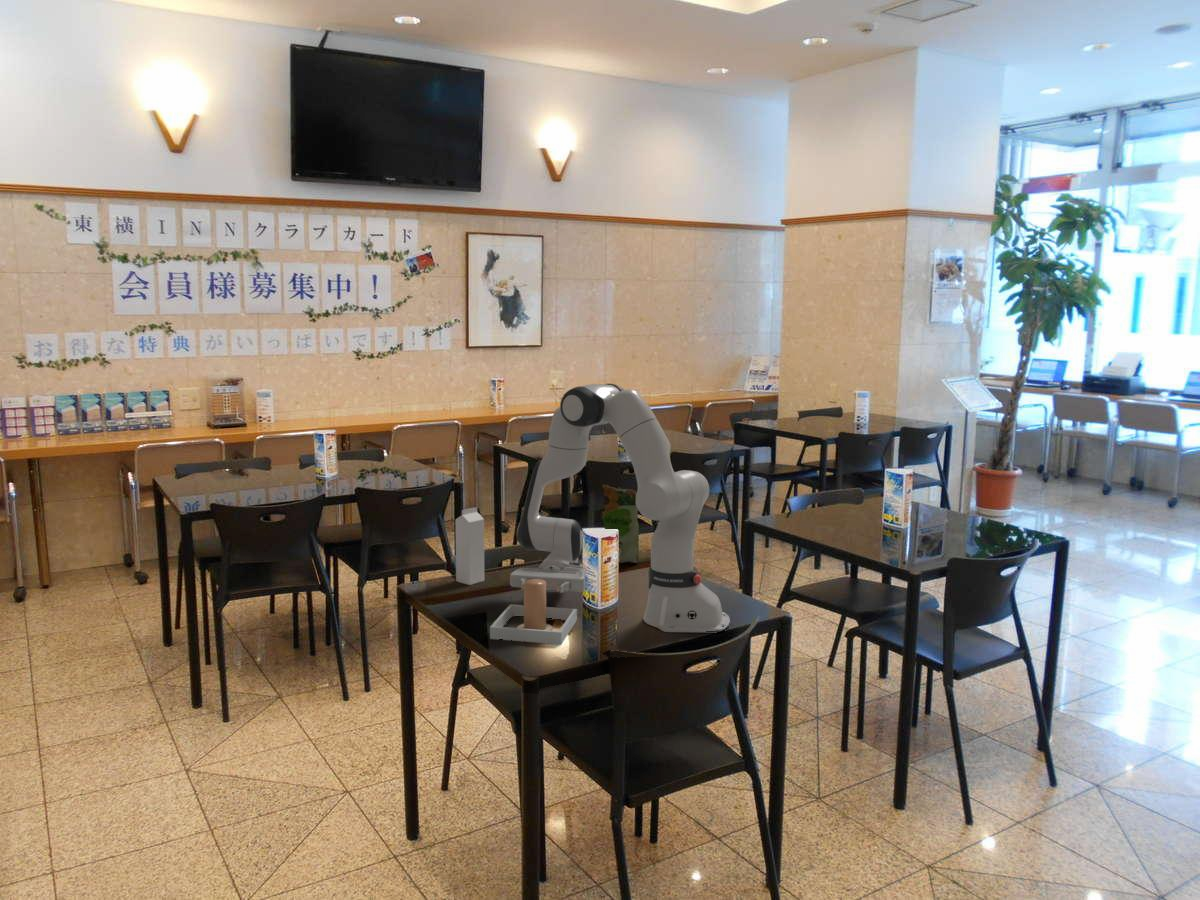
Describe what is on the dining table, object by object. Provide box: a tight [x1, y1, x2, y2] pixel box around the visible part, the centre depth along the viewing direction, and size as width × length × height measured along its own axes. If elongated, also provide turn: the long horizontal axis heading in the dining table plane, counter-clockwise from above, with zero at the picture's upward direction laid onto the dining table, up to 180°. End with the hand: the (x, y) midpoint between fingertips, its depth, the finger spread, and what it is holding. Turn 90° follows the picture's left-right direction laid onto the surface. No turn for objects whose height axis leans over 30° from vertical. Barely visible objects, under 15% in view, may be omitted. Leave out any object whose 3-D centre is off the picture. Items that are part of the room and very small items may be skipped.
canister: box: [523, 579, 547, 630], centre depth 233 cm, size 6×6×12 cm
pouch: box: [601, 483, 640, 564], centre depth 295 cm, size 11×12×25 cm
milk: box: [454, 506, 485, 586], centre depth 273 cm, size 6×6×22 cm
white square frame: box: [489, 603, 578, 645], centre depth 234 cm, size 18×18×3 cm
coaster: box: [516, 622, 553, 631], centre depth 234 cm, size 9×9×1 cm
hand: (541, 588), depth 240 cm, fingers open, 8 cm apart
